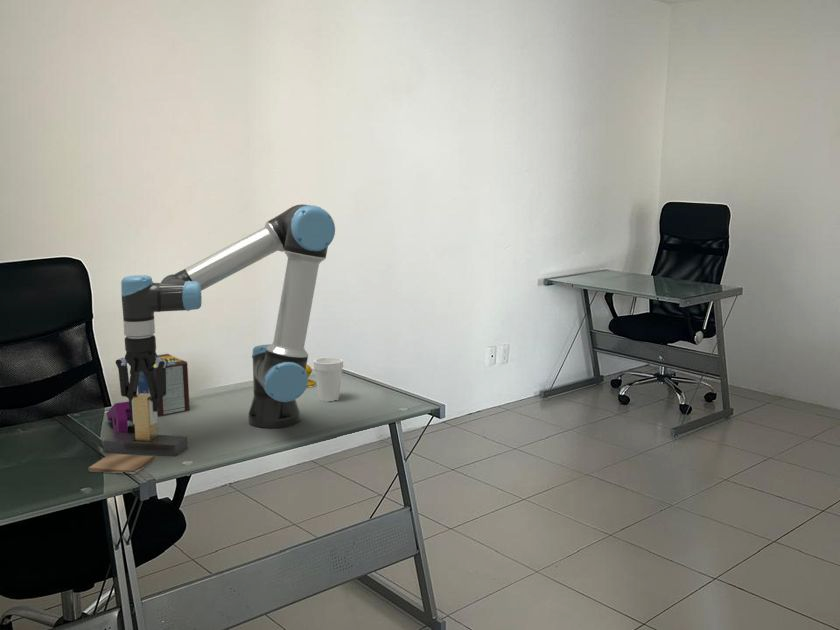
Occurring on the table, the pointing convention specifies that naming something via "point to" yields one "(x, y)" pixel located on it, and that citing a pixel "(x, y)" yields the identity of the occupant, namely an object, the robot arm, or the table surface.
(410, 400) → the table surface
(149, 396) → the square peg
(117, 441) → the rail
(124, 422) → the mounting bracket
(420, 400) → the table surface
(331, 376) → the foam cup
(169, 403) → the protein box
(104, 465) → the walnut pad
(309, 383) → the doorknob
